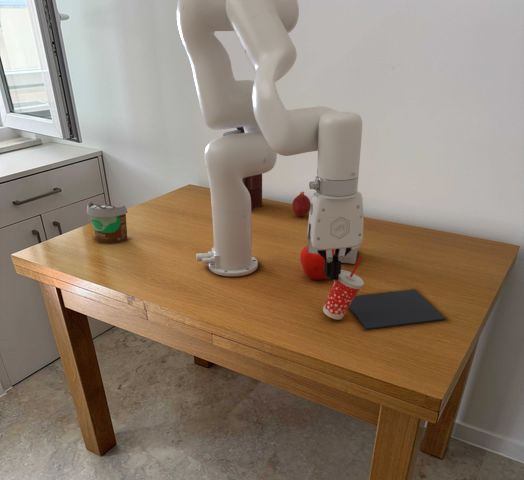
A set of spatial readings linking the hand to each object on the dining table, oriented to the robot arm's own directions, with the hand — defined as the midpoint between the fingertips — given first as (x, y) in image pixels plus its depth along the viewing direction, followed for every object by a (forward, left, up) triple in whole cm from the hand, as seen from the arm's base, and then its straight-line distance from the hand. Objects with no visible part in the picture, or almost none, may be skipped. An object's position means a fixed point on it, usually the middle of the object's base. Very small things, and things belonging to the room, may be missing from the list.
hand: (332, 277), depth 104 cm
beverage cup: (+1, +1, -9) cm, 9 cm away
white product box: (+14, +31, -10) cm, 36 cm away
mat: (+15, +1, -10) cm, 18 cm away
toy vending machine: (-2, +78, -10) cm, 79 cm away
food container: (-47, +57, -10) cm, 75 cm away
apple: (+4, +20, -10) cm, 23 cm away
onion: (+13, +64, -10) cm, 66 cm away
